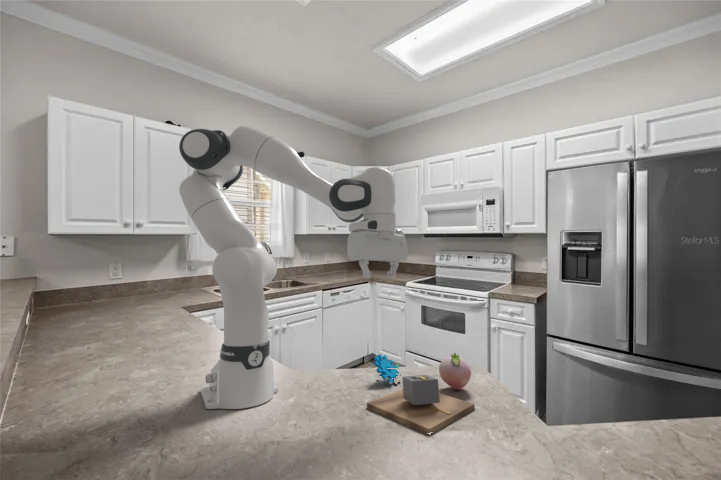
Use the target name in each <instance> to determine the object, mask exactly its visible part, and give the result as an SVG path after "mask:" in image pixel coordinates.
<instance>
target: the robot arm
mask: <svg viewBox="0 0 721 480" xmlns="http://www.w3.org/2000/svg"><path fill="white" fill-rule="evenodd" d="M179 153H180V155H181V157H182V159H183V160H184V162H185V163H186V164H187V165H188V166H189V167H190V168H193V173H192V174H191V175H189V176H186V178H184V179H183V180H182V182H181V183H180V185H179V190H178V191H179V195H180V198H181V201H182V203H183V205H184V208H185V209H186V212H187V213H188V215H189V217H190V219H191V220H192V222H193V223H194V226H196V228H197V230H198V232H199V233H200V235H201V236H202V238H203V240H204V241H205V243H206V244H207V245H208V246H209V247H210V248H212V249H213V250H214V251H215V252H216V253H217V254H218V255H216V257H215V258H214V260H213V263H212V267H211V269H212V275H213V278H214V279H215V281H216V282H217V284H218V286H219V291H220V295H221V300H222V301H221V302H222V305H223V315H224V317H223V318H224V322H223V324H224V327H223V343H222V344H221V347H220V352H219V353H220V354H219V360H218V361H217V362H216V363H215V364H214V366H213V367H212V368H211V369H210V373H207V374H205V385H203V386H201V387H200V395H201V397H202V401H203V404H204V408H205V409H207V410H213V409H214V410H215V409H217V410H218V409H225V410H240V409H241V410H242V409H247V408H248V409H249V408H252V407H256V406H260V405H262V404H265V403H267V402H268V401H270V400H272V398H273V396H274V394H275V393H277V392H278V391H279V385H276V384H275V374H274V372H275V370H274V367H275V366H274V360H273V359H272V358H270V357H269V355H270V353H271V352H270V349H271V345H270V341H269V321H270V320H269V318H270V317H269V316H270V313H269V309H268V307H267V303H266V299H265V292H264V287H266V286H267V285H269V284H270V283H271V282H272V281H273V279H275V277H276V275H277V272H278V266H277V263H276V261H275V259H274V258H273V257H272V256H271V254H270V252H268V251H267V249H266V248H265V246H264V245H263V244H262V243H261V241H260V240H259V239H258V238H257V237H256V235H255V234H254V233H253V232H252V230H250V228H249V227H248V226H247V225H246V223H245V222H244V220H243V219H242V218H241V216H240V214H239V213H238V211H237V209H236V208H235V207H234V205H233V204H232V202H231V200H230V199H229V197H228V196H227V194H226V192H225V191H226V190H229V188H230V187H231V186H232V185H234V184H235V183H237V181H239V179H241V178H242V175H243V172H244V167H248V168H250V169H251V170H253V171H255V172H256V173H258V174H260V175H262V176H264V177H267V178H269V179H271V180H274V181H276V182H278V183H281V184H284V185H287V186H290V187H292V188H295V189H296V190H299V191H302V192H304V193H305V194H307V195H308V196H311V197H312V198H314V199H316V200H317V201H319V202H321V203H323V204H324V205H326V206H328V207H329V209H331V210H332V211H333V213H334V214H335V217H336V218H338V219H339V220H340V221H342V222H345V223H350V224H349V225H348V231H349V232H350V233H349V234H348V237H347V249H346V250H347V251H346V252H347V254H346V255H347V257H348V258H349V259H350V260H352V261H359V262H358V263H359V267H360V269H361V271H362V277H363V279H371V278H372V270H370V269H369V266H368V265H369V264H370V263H369V261H371V262H373V261H375V262H376V261H377V262H389V266H390V269H389V270H388V271H387V278H389V279H392V278H393V279H394V278H396V277H397V270H398V268H399V264H400V262H407V260H408V259H409V253H408V250H409V249H408V243H407V239H406V236H405V234H404V232H403V230H401V229H396V228H397V226H396V224H397V222H396V219H397V217H396V211H395V204H396V186H395V185H396V184H395V180H394V176H393V174H392V172H390V171H389V170H387V169H386V168H382V167H379V166H378V167H376V166H374V167H369V168H366V169H365V170H364V171H363V172H361V173H359V174H357V175H355V176H352V177H348V178H342V179H338V180H337V181H336V182H334V183H333V184H332V183H330V181H329V182H328V181H327V180H325V179H324V178H322V177H320V176H319V175H317V174H315V173H314V172H313V171H312V170H311V169H310V168H309V167H308V165H307V164H306V163H305V162H304V161H303V159H302V158H301V156H300V155H299V154H298V152H297V151H296V150H295V149H293V147H291V146H290V145H289V144H288V143H286V142H285V141H284V140H282V139H280V138H278V137H276V136H274V135H272V134H270V133H268V132H266V131H264V130H260V129H258V128H255V127H251V126H249V125H240V126H238V127H236V128H235V129H234V130H233V131H232V132H231V134H229V135H227V134H226V133H225V132H224V131H223V130H218V129H217V130H215V129H214V130H211V129H205V128H195V129H191V130H189V131H187V132H186V133H185V134H184V135H183V136H182V137H181V138H180V141H179ZM362 218H363V219H362Z"/></svg>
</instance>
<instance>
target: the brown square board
mask: <svg viewBox="0 0 721 480" xmlns="http://www.w3.org/2000/svg"><path fill="white" fill-rule="evenodd" d="M415 376H416V377H415V380H418V379H419V377H423V376H418V375H415ZM439 399H440V403H431V404H420V405H413V404H411V403H410V402H408V401H407V400H405V399H404V395H403V388H402V389H399V390H397V391H394V392H392V393H388V394H386V395H383V396H382V397H379V398H376V399H373V400H370V401H368V402H366V409H368V410H371V412H375V413H378V414H380V415H382V416H385V417H386V418H388V419H391V420H393V421H396V422H399V423H400V424H403V425H405V426H407V427H409V428H412V429H414V430H415V431H419V432H421V433H423V434H425V433H430V432H435V433H437V432H438V431H440V430H442V429H443V428H446V427H447V426H448V425H450V424H452V423H454V422H456V421H457V420H459V419H461V418H463V417H464V416H466V415H468V414H469V413H471V412H472V411H475V403H473V402H469V401H465V400H463V399H460V398H456V397H453V396H451V395H447V394H444V393H440V392H439Z"/></svg>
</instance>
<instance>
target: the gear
mask: <svg viewBox="0 0 721 480" xmlns="http://www.w3.org/2000/svg"><path fill="white" fill-rule="evenodd" d="M373 359H374V362H373V366H374V367H377V368H376V369H375V370H376V373H377V374H379V375H378V376H382V378H381V379H382V380H383V381H385V380H386V379H387V378H388V380H387V383H388V382H390V383H391V382H394V380H393V379H392V378H395V379H396V376H398V375H397V374H396V373H398V374H399V372H400V371H399V370H397V369H387V368H398V369H399V367H400V364H398V363H396V364H395V365H394V360H393V359H389V360H388V356H387V355H386V354H384V355H382V354H380V353H379V354H378V355H377V356H375V357H374V358H373Z"/></svg>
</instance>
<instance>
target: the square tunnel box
mask: <svg viewBox="0 0 721 480" xmlns="http://www.w3.org/2000/svg"><path fill="white" fill-rule="evenodd" d="M416 376H423V377H419V379H418V380H415V377H416ZM402 389H403V395H404V399H405V400H407V401H408V402H410V403H411V404H413V405H420V404H431V403H440V399H439V393H440V388H439V379H438V378H435V377H433V376H430V375H429V374H420V375H407V376H406V375H404V376H402Z"/></svg>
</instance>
